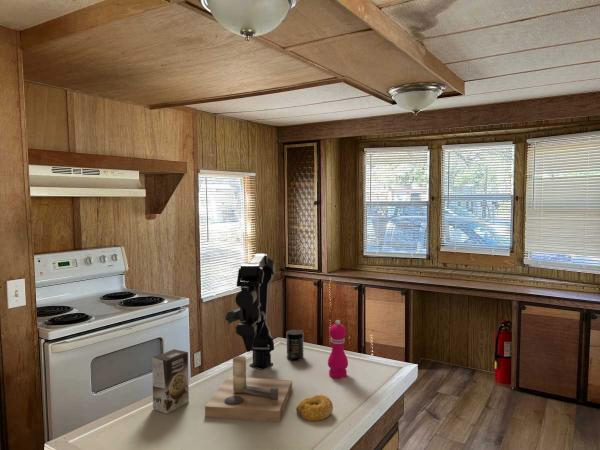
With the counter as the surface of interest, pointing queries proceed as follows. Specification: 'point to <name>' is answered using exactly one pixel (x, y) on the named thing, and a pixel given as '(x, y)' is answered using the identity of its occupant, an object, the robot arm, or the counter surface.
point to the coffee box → (170, 380)
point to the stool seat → (249, 400)
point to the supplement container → (294, 344)
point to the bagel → (315, 408)
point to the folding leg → (240, 380)
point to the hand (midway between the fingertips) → (251, 346)
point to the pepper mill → (337, 351)
